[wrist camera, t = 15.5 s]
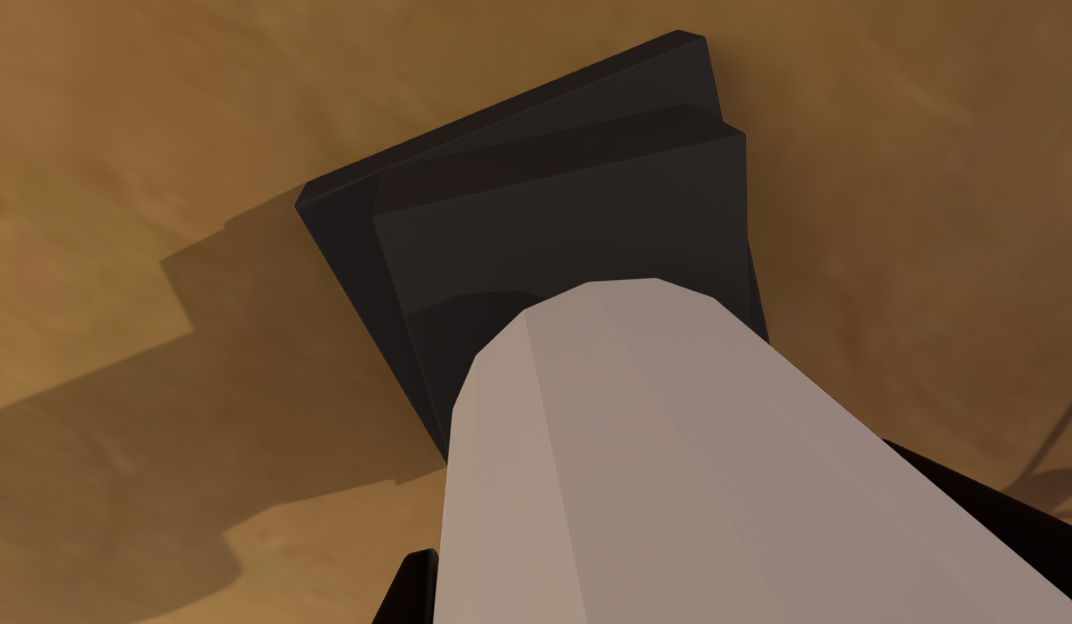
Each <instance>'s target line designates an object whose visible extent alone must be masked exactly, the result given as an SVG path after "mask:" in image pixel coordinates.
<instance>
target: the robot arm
mask: <svg viewBox="0 0 1072 624" xmlns="http://www.w3.org/2000/svg"><path fill="white" fill-rule="evenodd" d="M881 440H882V441H884V442H885V443H886V444H887V445H888V446H889V447H891V448H892V449H893V450H894V451H895V452H897V453H898V454H899V455H900V456H901V457H902V458H904V459H905V460H906V461H907V462H908V463H910V464H911V465H912V466H913V467H914V468H915V469H917V470H918V471H919V472H920V473H921V474H923V475H924V476H925V477H926V478H927V479H929V480H930V481H931V482H932V483H933V484H934V485H936V486H937V487H938V488H939V489H940V490H942V491H943V492H944V493H945V494H946V495H947V496H949V497H950V498H951V499H952V500H953V501H955V502H956V503H957V504H958V505H959V506H960V507H962V508H963V509H964V510H965V511H966V512H968V513H969V514H970V515H971V516H972V517H974V518H975V519H976V520H977V521H978V522H979V523H981V524H982V525H983V526H984V527H985V528H987V529H988V530H989V531H990V532H991V533H992V534H994V535H995V536H996V537H997V538H998V539H1000V540H1001V541H1002V542H1003V543H1004V544H1005V545H1007V546H1008V547H1009V548H1010V549H1011V550H1013V551H1014V552H1015V553H1016V554H1017V555H1019V556H1020V557H1021V558H1022V559H1023V560H1024V561H1026V562H1027V563H1028V564H1029V565H1030V566H1032V567H1033V568H1034V569H1035V570H1036V571H1037V572H1039V573H1040V574H1041V575H1042V576H1043V577H1045V578H1046V579H1047V580H1048V581H1049V582H1050V583H1052V584H1053V585H1054V586H1055V587H1056V588H1058V589H1059V590H1060V591H1061V592H1062V593H1064V594H1065V595H1066V596H1067V597H1068V598H1069V599H1071V600H1072V525H1070V524H1067V523H1065V522H1063V521H1061V520H1059V519H1057V518H1055V517H1052V516H1050V515H1048V514H1046V513H1044V512H1042V511H1040V510H1037V509H1035V508H1033V507H1031V506H1029V505H1027V504H1024V503H1022V502H1020V501H1018V500H1016V499H1014V498H1012V497H1009V496H1007V495H1005V494H1003V493H1001V492H999V491H996V490H994V489H992V488H990V487H988V486H986V485H984V484H981V483H979V482H977V481H975V480H973V479H971V478H968V477H966V476H964V475H962V474H960V473H958V472H956V471H953V470H951V469H949V468H947V467H945V466H943V465H940V464H938V463H936V462H934V461H932V460H930V459H928V458H925V457H923V456H921V455H919V454H917V453H915V452H912V451H910V450H908V449H906V448H904V447H902V446H900V445H897V444H895V443H893V442H891V441H889V440H886V439H881ZM438 565H439V557H438V554H437V552H436V551H435V550H434V549H431V548H429V549H425V550H421V551H417V552H413V553H410V554H408V555H407V556H406V557H405V558H404V560H403V562H402V564H401V566H400V568H399V570H398V572H397V574H396V576H395V578H394V580H393V582H392V584H391V586H390V588H389V590H388V592H387V594H386V596H385V598H384V600H383V602H382V604H381V606H380V608H379V610H378V612H377V614H376V616H375V618H374V620H373V622H372V624H433V620H434V609H435V598H436V587H437V576H438Z"/></svg>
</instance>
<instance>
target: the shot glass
mask: <svg viewBox="0 0 1072 624" xmlns="http://www.w3.org/2000/svg"><path fill="white" fill-rule="evenodd" d="M433 624H1072V600H1071V599H1069V598H1068V597H1067V596H1066V595H1065V594H1064V593H1062V592H1061V591H1060V590H1059V589H1058V588H1056V587H1055V586H1054V585H1053V584H1052V583H1050V582H1049V581H1048V580H1047V579H1046V578H1045V577H1043V576H1042V575H1041V574H1040V573H1039V572H1037V571H1036V570H1035V569H1034V568H1033V567H1032V566H1030V565H1029V564H1028V563H1027V562H1026V561H1024V560H1023V559H1022V558H1021V557H1020V556H1019V555H1017V554H1016V553H1015V552H1014V551H1013V550H1011V549H1010V548H1009V547H1008V546H1007V545H1005V544H1004V543H1003V542H1002V541H1001V540H1000V539H998V538H997V537H996V536H995V535H994V534H992V533H991V532H990V531H989V530H988V529H987V528H985V527H984V526H983V525H982V524H981V523H979V522H978V521H977V520H976V519H975V518H974V517H972V516H971V515H970V514H969V513H968V512H966V511H965V510H964V509H963V508H962V507H960V506H959V505H958V504H957V503H956V502H955V501H953V500H952V499H951V498H950V497H949V496H947V495H946V494H945V493H944V492H943V491H942V490H940V489H939V488H938V487H937V486H936V485H934V484H933V483H932V482H931V481H930V480H929V479H927V478H926V477H925V476H924V475H923V474H921V473H920V472H919V471H918V470H917V469H915V468H914V467H913V466H912V465H911V464H910V463H908V462H907V461H906V460H905V459H904V458H902V457H901V456H900V455H899V454H898V453H897V452H895V451H894V450H893V449H892V448H891V447H889V446H888V445H887V444H886V443H885V442H884V441H882V440H881V439H880V438H879V437H878V436H876V435H875V434H874V433H873V432H872V431H870V430H869V429H868V428H867V427H866V426H865V425H863V424H862V423H861V422H860V421H859V420H857V419H856V418H855V417H854V416H853V415H852V414H850V413H849V412H848V411H847V410H846V409H844V408H843V407H842V406H841V405H840V404H838V403H837V402H836V401H835V400H834V399H833V398H831V397H830V396H829V395H828V394H827V393H825V392H824V391H823V390H822V389H821V388H820V387H818V386H817V385H816V384H815V383H814V382H812V381H811V380H810V379H809V378H808V377H807V376H805V375H804V374H803V373H802V372H801V371H799V370H798V369H797V368H796V367H795V366H793V365H792V364H791V363H790V362H789V361H788V360H786V359H785V358H784V357H783V356H782V355H780V354H779V353H778V352H777V351H776V350H775V349H773V348H772V347H771V346H770V345H769V344H767V343H766V342H765V341H764V340H763V339H762V338H760V337H759V336H758V335H757V334H756V333H754V332H753V331H752V330H751V329H750V328H748V327H747V326H746V325H745V324H744V323H743V322H741V321H740V320H739V319H738V318H737V317H735V316H734V315H733V314H732V313H731V312H730V311H728V310H727V309H726V308H725V307H724V306H722V305H721V304H720V303H719V302H718V301H717V300H715V299H714V298H712V297H709V296H706V295H704V294H701V293H698V292H695V291H692V290H689V289H686V288H683V287H680V286H677V285H675V284H672V283H669V282H666V281H663V280H660V279H657V278H649V279H631V280H614V281H597V282H587V283H585V284H582V285H580V286H578V287H575V288H573V289H571V290H568V291H566V292H564V293H562V294H559V295H557V296H555V297H552V298H550V299H548V300H545V301H543V302H541V303H538V304H536V305H534V306H532V307H529V308H527V309H525V310H523V311H522V312H521V313H520V314H519V315H518V316H517V317H516V318H515V319H514V320H513V321H512V322H510V323H509V324H508V325H507V326H506V327H505V328H504V329H503V330H502V331H501V332H500V333H499V334H498V335H497V336H496V337H495V338H494V339H493V340H492V341H491V342H490V343H489V344H487V345H486V346H485V347H484V348H483V349H482V350H481V351H480V352H479V353H478V354H477V355H476V356H475V359H474V361H473V363H472V366H471V368H470V370H469V373H468V375H467V377H466V380H465V382H464V384H463V387H462V389H461V391H460V394H459V396H458V398H457V401H456V403H455V405H454V408H453V413H452V423H451V434H450V445H449V456H448V467H447V478H446V489H445V500H444V511H443V522H442V533H441V543H440V554H439V565H438V576H437V587H436V598H435V609H434V620H433Z"/></svg>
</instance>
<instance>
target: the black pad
mask: <svg viewBox="0 0 1072 624" xmlns="http://www.w3.org/2000/svg"><path fill="white" fill-rule="evenodd" d="M372 221H373V224H374V227H375V230H376V233H377V236H378V239H379V242H380V245H381V248H382V252H383V255H384V258H385V261H386V264H387V267H388V270H389V273H390V276H391V279H392V282H393V286H394V289H395V292H396V295H397V298H398V301H399V304H400V307H401V310H402V313H403V316H404V319H405V323H406V326H407V329H408V332H409V335H410V338H411V341H412V344H413V347H414V350H415V353H416V356H417V360H418V363H419V366H420V369H421V372H422V375H423V378H424V381H425V384H426V387H427V390H428V394H429V397H430V400H431V403H432V406H433V409H434V412H435V415H436V418H437V421H438V424H439V427H440V431H441V434H442V437H443V440H444V443H445V446H446V449H447V452H448V455H449V445H450V434H451V423H452V413H453V408H454V405H455V403H456V401H457V398H458V396H459V394H460V391H461V389H462V387H463V384H464V382H465V380H466V377H467V375H468V373H469V370H470V368H471V366H472V363H473V361H474V359H475V356H476V355H477V354H478V353H479V352H480V351H481V350H482V349H483V348H484V347H485V346H486V345H487V344H489V343H490V342H491V341H492V340H493V339H494V338H495V337H496V336H497V335H498V334H499V333H500V332H501V331H502V330H503V329H504V328H505V327H506V326H507V325H508V324H509V323H510V322H512V321H513V320H514V319H515V318H516V317H517V316H518V315H519V314H520V313H521V312H522V311H523V310H525V309H527V308H529V307H532V306H534V305H536V304H538V303H541V302H543V301H545V300H548V299H550V298H552V297H555V296H557V295H559V294H562V293H564V292H566V291H568V290H571V289H573V288H575V287H578V286H580V285H582V284H585V283H587V282H597V281H614V280H631V279H649V278H657V279H660V280H663V281H666V282H669V283H672V284H675V285H677V286H680V287H683V288H686V289H689V290H692V291H695V292H698V293H701V294H704V295H706V296H709V297H712V298H714V299H715V300H717V301H718V302H719V303H720V304H721V305H722V306H724V307H725V308H726V309H727V310H728V311H730V312H731V313H732V314H733V315H734V316H735V317H737V318H738V319H739V320H740V321H741V322H743V323H744V324H745V325H746V326H747V327H748V328H749V295H748V238H747V182H746V135H745V133H743V132H741V131H739V130H737V129H735V128H733V127H732V126H730V125H728V124H726V123H724V122H722V121H720V120H719V119H717V118H715V117H713V116H711V115H709V114H707V113H706V112H704V111H702V110H700V109H698V108H696V107H694V106H693V105H691V104H688V103H686V104H682V105H677V106H673V107H668V108H664V109H659V110H654V111H650V112H645V113H641V114H636V115H632V116H627V117H622V118H618V119H613V120H609V121H604V122H600V123H595V124H590V125H586V126H581V127H577V128H572V129H568V130H563V131H558V132H554V133H549V134H545V135H540V136H536V137H531V138H527V139H522V140H517V141H513V142H508V143H504V144H499V145H495V146H490V147H485V148H481V149H476V150H472V151H467V152H463V153H458V154H453V155H449V156H444V157H440V158H435V159H431V160H426V161H421V162H417V163H412V164H408V165H403V166H399V167H394V168H390V169H385V170H383V171H382V172H381V177H380V182H379V186H378V191H377V196H376V200H375V205H374V210H373V214H372Z"/></svg>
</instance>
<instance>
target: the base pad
mask: <svg viewBox="0 0 1072 624" xmlns="http://www.w3.org/2000/svg"><path fill="white" fill-rule="evenodd" d="M686 103H688V104H691V105H693V106H694V107H696V108H698V109H700V110H702V111H704V112H706V113H707V114H709V115H711V116H713V117H715V118H717V119H719V120H720V121H722V122H723V119H722V114H721V109H720V104H719V100H718V95H717V90H716V85H715V81H714V76H713V71H712V66H711V62H710V57H709V52H708V47H707V43H706V38H705V37H704V36H700V35H696V34H693V33H689V32H685V31H681V30H676V31H673V32H671V33H668V34H666V35H663V36H661V37H659V38H656V39H654V40H651V41H649V42H646V43H644V44H642V45H639V46H637V47H634V48H632V49H629V50H627V51H625V52H622V53H620V54H617V55H615V56H612V57H610V58H608V59H605V60H603V61H600V62H598V63H596V64H593V65H591V66H588V67H586V68H583V69H581V70H579V71H576V72H574V73H571V74H569V75H566V76H564V77H562V78H559V79H557V80H554V81H552V82H549V83H547V84H545V85H542V86H540V87H537V88H535V89H532V90H530V91H528V92H525V93H523V94H520V95H518V96H515V97H513V98H511V99H508V100H506V101H503V102H501V103H498V104H496V105H494V106H491V107H489V108H486V109H484V110H481V111H479V112H477V113H474V114H472V115H469V116H467V117H465V118H462V119H460V120H457V121H455V122H452V123H450V124H448V125H445V126H443V127H440V128H438V129H435V130H433V131H431V132H428V133H426V134H423V135H421V136H418V137H416V138H414V139H411V140H409V141H406V142H404V143H401V144H399V145H397V146H394V147H392V148H389V149H387V150H384V151H382V152H380V153H377V154H375V155H372V156H370V157H367V158H365V159H363V160H360V161H358V162H355V163H353V164H351V165H348V166H346V167H343V168H341V169H338V170H336V171H334V172H331V173H329V174H326V175H324V176H321V177H319V178H317V179H314V180H312V181H309V182H307V183H306V185H305V187H304V189H303V190H302V192H301V194H300V196H299V198H298V200H297V201H296V203H295V208H296V210H297V212H298V213H299V215H300V217H301V218H302V220H303V222H304V224H305V225H306V227H307V229H308V230H309V232H310V234H311V235H312V237H313V239H314V240H315V242H316V244H317V245H318V247H319V249H320V251H321V252H322V254H323V256H324V257H325V259H326V261H327V262H328V264H329V266H330V267H331V269H332V271H333V272H334V274H335V276H336V278H337V279H338V281H339V283H340V284H341V286H342V288H343V289H344V291H345V293H346V294H347V296H348V298H349V299H350V301H351V303H352V305H353V306H354V308H355V310H356V311H357V313H358V315H359V316H360V318H361V320H362V321H363V323H364V325H365V326H366V328H367V330H368V332H369V333H370V335H371V337H372V338H373V340H374V342H375V343H376V345H377V347H378V348H379V350H380V352H381V353H382V355H383V357H384V359H385V360H386V362H387V364H388V365H389V367H390V369H391V370H392V372H393V374H394V375H395V377H396V379H397V380H398V382H399V384H400V385H401V387H402V389H403V391H404V392H405V394H406V396H407V397H408V399H409V401H410V402H411V404H412V406H413V407H414V409H415V411H416V412H417V414H418V416H419V418H420V419H421V421H422V423H423V424H424V426H425V428H426V429H427V431H428V433H429V434H430V436H431V438H432V439H433V441H434V443H435V445H436V446H437V448H438V450H439V451H440V453H441V455H442V456H443V458H444V460H445V461H446V463H447V465H448V456H449V455H448V452H447V449H446V446H445V443H444V440H443V437H442V434H441V431H440V427H439V424H438V421H437V418H436V415H435V412H434V409H433V406H432V403H431V400H430V397H429V394H428V390H427V387H426V384H425V381H424V378H423V375H422V372H421V369H420V366H419V363H418V360H417V356H416V353H415V350H414V347H413V344H412V341H411V338H410V335H409V332H408V329H407V326H406V323H405V319H404V316H403V313H402V310H401V307H400V304H399V301H398V298H397V295H396V292H395V289H394V286H393V282H392V279H391V276H390V273H389V270H388V267H387V264H386V261H385V258H384V255H383V252H382V248H381V245H380V242H379V239H378V236H377V233H376V230H375V227H374V224H373V221H372V214H373V210H374V205H375V200H376V196H377V191H378V186H379V182H380V177H381V172H382V171H383V170H385V169H390V168H394V167H399V166H403V165H408V164H412V163H417V162H421V161H426V160H431V159H435V158H440V157H444V156H449V155H453V154H458V153H463V152H467V151H472V150H476V149H481V148H485V147H490V146H495V145H499V144H504V143H508V142H513V141H517V140H522V139H527V138H531V137H536V136H540V135H545V134H549V133H554V132H558V131H563V130H568V129H572V128H577V127H581V126H586V125H590V124H595V123H600V122H604V121H609V120H613V119H618V118H622V117H627V116H632V115H636V114H641V113H645V112H650V111H654V110H659V109H664V108H668V107H673V106H677V105H682V104H686ZM747 238H748V237H747ZM748 295H749V328H750V329H751V330H752V331H753V332H754V333H756V334H757V335H758V336H759V337H760V338H762V339H763V340H764V341H765V342H766V343H767V344H769V345H770V342H769V337H768V332H767V328H766V323H765V318H764V313H763V309H762V304H761V299H760V294H759V290H758V285H757V280H756V275H755V271H754V266H753V261H752V256H751V252H750V247H749V242H748Z"/></svg>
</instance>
